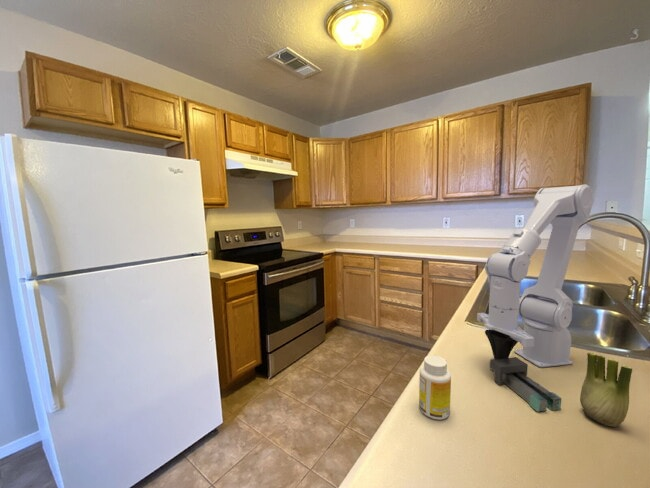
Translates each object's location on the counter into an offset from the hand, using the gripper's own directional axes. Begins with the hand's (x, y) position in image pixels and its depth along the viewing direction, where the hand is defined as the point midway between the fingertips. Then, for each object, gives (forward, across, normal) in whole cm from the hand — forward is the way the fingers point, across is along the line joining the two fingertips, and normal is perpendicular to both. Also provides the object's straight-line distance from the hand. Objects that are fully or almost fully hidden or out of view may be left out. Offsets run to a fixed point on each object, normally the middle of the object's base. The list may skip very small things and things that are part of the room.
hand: (500, 361), depth 65 cm
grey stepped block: (+3, +4, 0) cm, 5 cm away
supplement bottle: (+3, +9, -22) cm, 23 cm away
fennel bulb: (+3, +16, +7) cm, 17 cm away
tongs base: (+3, +5, +1) cm, 6 cm away
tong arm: (+3, +6, -2) cm, 7 cm away
